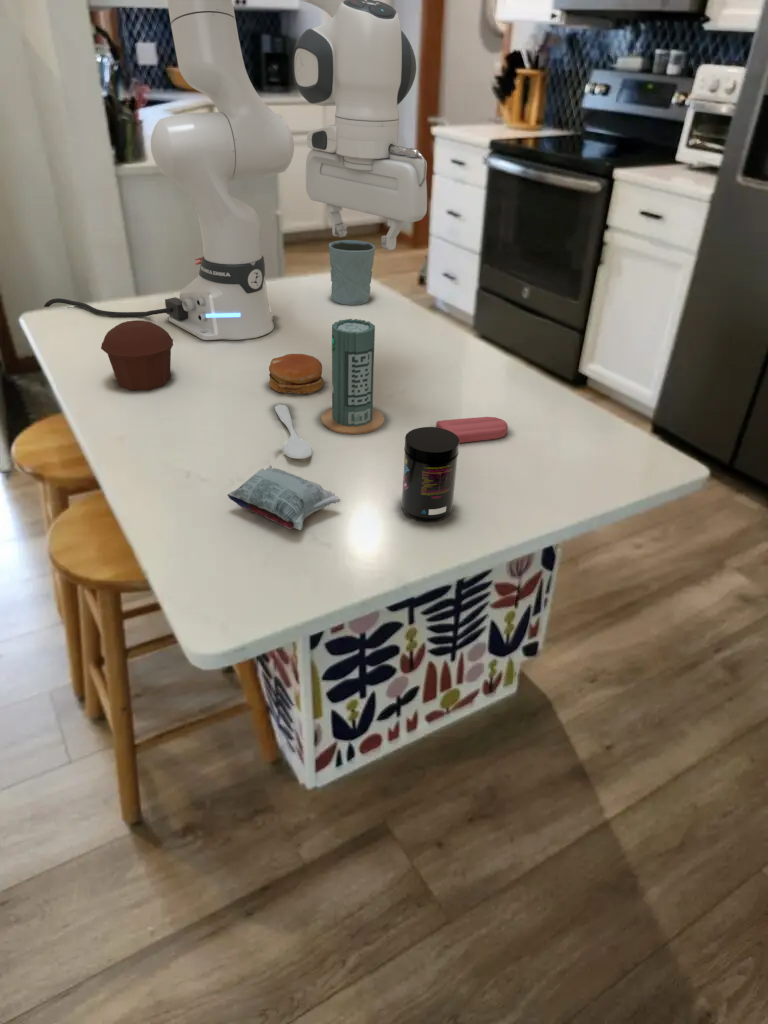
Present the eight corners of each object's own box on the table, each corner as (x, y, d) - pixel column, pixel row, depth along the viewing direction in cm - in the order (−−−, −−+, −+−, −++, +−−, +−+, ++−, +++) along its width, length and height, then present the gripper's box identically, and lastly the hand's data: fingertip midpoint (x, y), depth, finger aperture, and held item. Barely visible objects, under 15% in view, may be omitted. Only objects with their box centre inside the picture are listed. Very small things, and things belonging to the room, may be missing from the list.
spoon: (287, 468, 105) (287, 458, 104) (267, 406, 121) (266, 397, 121) (316, 465, 106) (316, 455, 105) (292, 404, 122) (292, 395, 122)
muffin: (170, 363, 135) (163, 309, 130) (185, 387, 127) (178, 330, 121) (102, 373, 130) (91, 317, 125) (113, 398, 122) (102, 339, 117)
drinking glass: (320, 298, 169) (319, 244, 163) (349, 289, 176) (350, 237, 169) (353, 309, 164) (353, 253, 158) (382, 299, 171) (384, 245, 164)
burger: (329, 393, 127) (329, 367, 124) (276, 399, 124) (274, 373, 121) (315, 371, 134) (314, 346, 132) (264, 376, 132) (262, 351, 129)
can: (361, 406, 122) (363, 317, 113) (377, 422, 117) (381, 330, 109) (327, 413, 119) (326, 322, 111) (342, 429, 115) (343, 335, 107)
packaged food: (272, 482, 102) (270, 451, 99) (341, 512, 96) (341, 479, 93) (227, 510, 96) (223, 478, 93) (297, 544, 90) (295, 510, 87)
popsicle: (410, 422, 115) (500, 414, 118) (409, 431, 116) (498, 423, 119) (420, 438, 111) (513, 429, 114) (419, 447, 111) (512, 438, 115)
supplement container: (435, 491, 101) (441, 422, 95) (462, 516, 96) (470, 445, 90) (391, 503, 98) (395, 432, 93) (417, 529, 93) (422, 456, 88)
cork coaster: (308, 421, 118) (308, 418, 117) (348, 401, 124) (348, 398, 124) (357, 440, 113) (357, 438, 112) (396, 418, 119) (396, 416, 119)
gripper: (440, 148, 101) (432, 252, 109) (327, 129, 111) (327, 225, 119) (413, 153, 97) (406, 261, 104) (298, 132, 106) (299, 232, 114)
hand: (363, 242), depth 112 cm, fingers open, 8 cm apart
